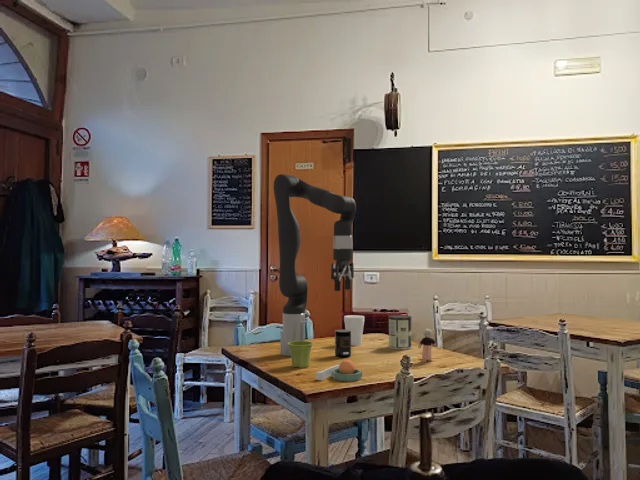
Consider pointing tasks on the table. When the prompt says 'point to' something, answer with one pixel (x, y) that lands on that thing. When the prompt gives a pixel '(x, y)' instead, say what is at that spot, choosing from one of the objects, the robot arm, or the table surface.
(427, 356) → the grandmother figurine
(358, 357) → the table surface
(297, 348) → the plant pot
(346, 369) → the ball
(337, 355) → the supplement container
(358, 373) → the saucer
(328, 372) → the white long bar
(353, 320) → the foam cup
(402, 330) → the coffee can
